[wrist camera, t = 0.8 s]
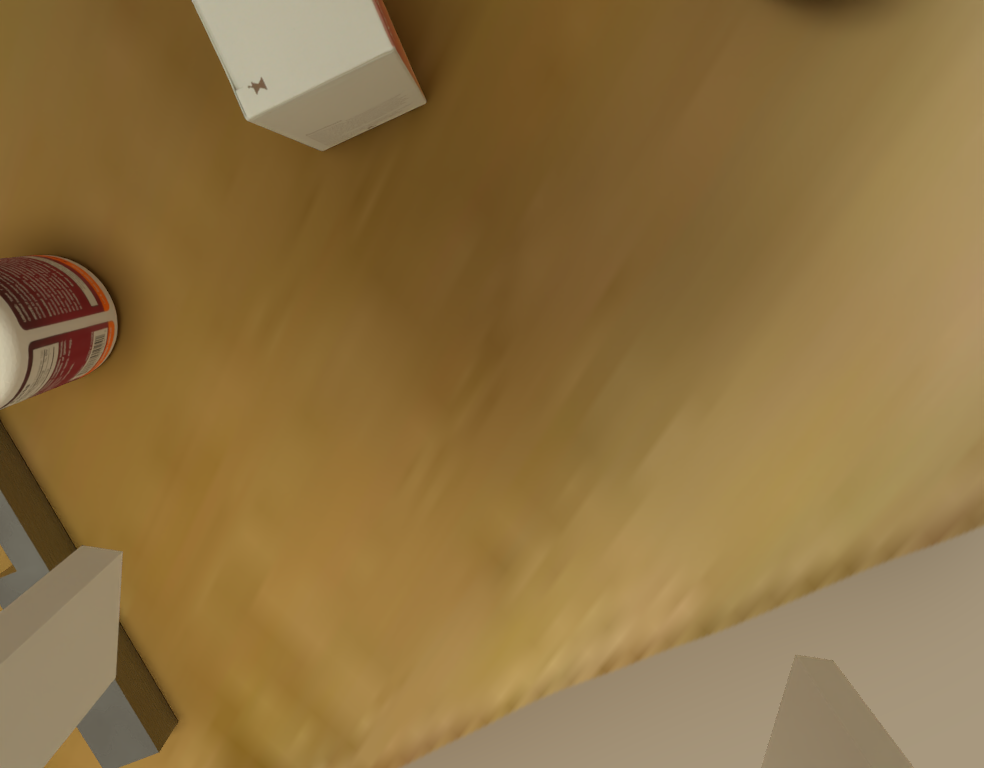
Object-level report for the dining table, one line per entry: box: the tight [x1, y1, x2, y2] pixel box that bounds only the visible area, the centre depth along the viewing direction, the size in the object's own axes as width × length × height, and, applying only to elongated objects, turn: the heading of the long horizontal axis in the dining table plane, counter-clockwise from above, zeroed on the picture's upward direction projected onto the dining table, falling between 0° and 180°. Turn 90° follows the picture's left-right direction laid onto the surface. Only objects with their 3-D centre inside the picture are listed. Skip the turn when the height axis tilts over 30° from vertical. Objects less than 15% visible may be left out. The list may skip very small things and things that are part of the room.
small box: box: [192, 0, 426, 151], centre depth 28 cm, size 8×6×10 cm
